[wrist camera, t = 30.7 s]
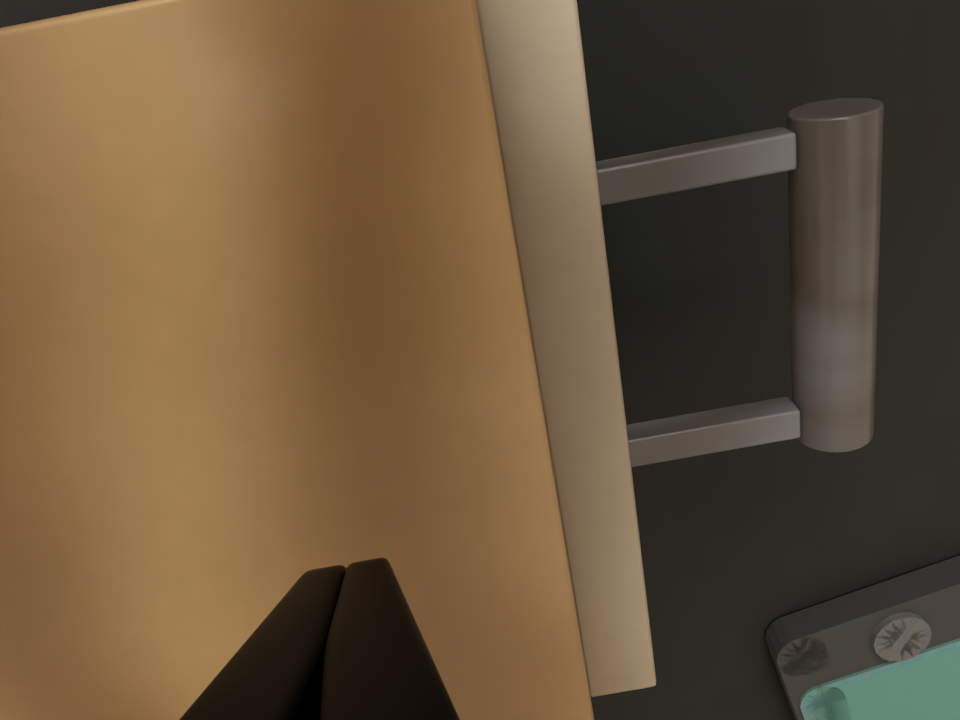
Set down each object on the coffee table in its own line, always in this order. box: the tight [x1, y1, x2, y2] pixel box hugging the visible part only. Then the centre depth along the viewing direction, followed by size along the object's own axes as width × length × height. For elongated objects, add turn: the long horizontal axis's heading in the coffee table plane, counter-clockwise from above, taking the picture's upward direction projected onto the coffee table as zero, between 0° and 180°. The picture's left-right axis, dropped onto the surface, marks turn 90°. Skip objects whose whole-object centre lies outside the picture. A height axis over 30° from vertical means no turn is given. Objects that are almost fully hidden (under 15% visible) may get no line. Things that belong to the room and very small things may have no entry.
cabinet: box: [0, 0, 594, 720], centre depth 16 cm, size 15×13×9 cm
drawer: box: [476, 0, 884, 697], centre depth 16 cm, size 18×11×7 cm, turn 100°
